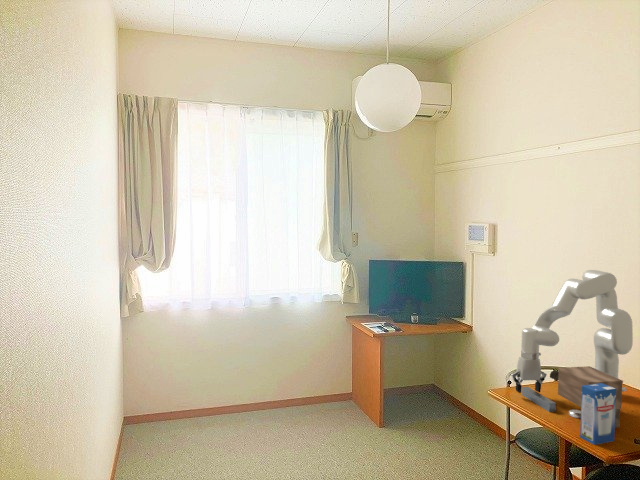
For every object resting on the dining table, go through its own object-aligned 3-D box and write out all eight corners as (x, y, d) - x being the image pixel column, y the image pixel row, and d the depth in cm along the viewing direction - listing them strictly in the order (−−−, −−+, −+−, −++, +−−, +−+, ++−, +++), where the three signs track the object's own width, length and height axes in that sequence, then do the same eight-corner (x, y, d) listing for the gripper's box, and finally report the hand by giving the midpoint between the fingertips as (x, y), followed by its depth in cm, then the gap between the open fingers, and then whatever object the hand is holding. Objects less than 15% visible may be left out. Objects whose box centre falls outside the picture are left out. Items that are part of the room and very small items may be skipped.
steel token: (578, 412, 207) (578, 409, 207) (588, 418, 201) (588, 414, 201) (565, 413, 206) (565, 409, 206) (575, 419, 200) (575, 415, 200)
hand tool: (591, 385, 240) (592, 376, 240) (589, 387, 238) (590, 378, 237) (551, 377, 253) (551, 368, 253) (549, 379, 250) (549, 370, 250)
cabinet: (588, 409, 210) (589, 366, 209) (621, 427, 192) (622, 380, 191) (556, 411, 207) (558, 367, 207) (587, 429, 189) (589, 382, 188)
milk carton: (600, 433, 186) (601, 383, 185) (614, 441, 180) (616, 388, 179) (580, 437, 183) (581, 385, 182) (594, 444, 177) (595, 391, 176)
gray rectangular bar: (527, 395, 227) (528, 386, 227) (555, 412, 207) (555, 403, 207) (522, 395, 226) (522, 387, 226) (549, 412, 207) (549, 403, 206)
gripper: (541, 352, 228) (540, 388, 228) (508, 353, 225) (506, 389, 226) (551, 357, 220) (550, 394, 221) (517, 358, 218) (515, 395, 218)
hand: (528, 391), depth 223 cm, fingers open, 9 cm apart
